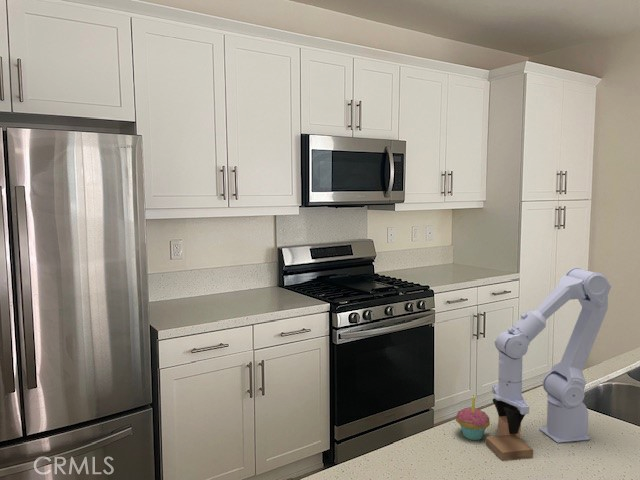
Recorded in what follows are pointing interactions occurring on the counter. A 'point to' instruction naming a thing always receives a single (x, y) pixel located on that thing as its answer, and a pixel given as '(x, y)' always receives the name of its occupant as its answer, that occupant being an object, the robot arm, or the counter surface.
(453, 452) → the counter surface
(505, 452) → the base
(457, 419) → the cupcake
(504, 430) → the block
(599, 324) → the robot arm
